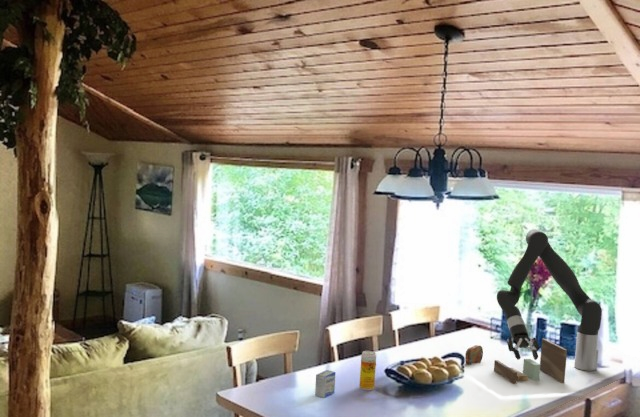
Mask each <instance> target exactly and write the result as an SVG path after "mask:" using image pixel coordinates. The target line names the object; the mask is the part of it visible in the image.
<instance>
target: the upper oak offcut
mask: <svg viewBox="0 0 640 417" xmlns="http://www.w3.org/2000/svg"><path fill="white" fill-rule="evenodd" d="M510 368H511V369H512V370H514V371H515V372H517V382H526V381H528V380H529V377H528V376H527V375H525V374H523V372H521V371H520V370H517V369H515V368H514V367H510Z"/></svg>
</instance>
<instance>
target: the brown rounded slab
mask: <svg viewBox="0 0 640 417" xmlns="http://www.w3.org/2000/svg"><path fill="white" fill-rule="evenodd" d="M483 350H484V348H483V347H482V346H481V345H478V344H477V345H473V346H471V347H468V348H467V350H466V351H465V357H464V358H465V364H466V365H470V366H471V365H472V364H480V363H481V362H482V360H483V357H484V351H483Z"/></svg>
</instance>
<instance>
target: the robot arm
mask: <svg viewBox="0 0 640 417" xmlns="http://www.w3.org/2000/svg"><path fill="white" fill-rule="evenodd" d="M525 242H526V244H527V246H526V249H525V251H524V253H523V256H521V259H520V260H519V262H518V263H517V264H516V266H514V269H513V270H512V272H511V273H510V276H509V278H508V279H507V285H508V286H509V287H510V290H508V289H500V290H498V292H497V293H496V301H497V304H498V305H499V307H500V309H501V310H502V311H503V314H504V315H505V319H506V322H507V327H508V330H509V333H510V336H511V337H510V336H509V337H508V338H507V339H506V343H507V347H508V351H509V352H513V353H514V357H515V358H516V359H517V361H519V360H520V359H521V354H520V352H519V349H527V350H529V351H531V353H532V357H533V361H536V360H537V359H538V358H539V354H538V351H539V350H541V349H540V346H539V343H538V339H537V338H536V336H535V337H533V338H531V337H530V336H529V333H528V330H527V327H526V324H525V321H524V318H523V317H522V313H521V311H520V308H518V306H516V305H517V304H518V302H519V301H520V296H521V292H522V288H523V285H524V284H525V282H526V279H527V277H528V275H529V274H530V272H531V270H532V268H533V266H534V265H535V263H536V262H537V259H538V258H540V260H541V261H542V263H543V265H544V266H545V267H546V270H547V272H548V273H549V274H550V276H551V277H552V278H553V280H554V281H555V283H556V284H557V285H558V286H559V288H561V290H562V291H563V292H564V294H566V296H567V297H568V298H569V299H570V301H571V302H572V304H573V306H574V307H575V309H576V311H577V312H578V314H579V316H581V318H580V319H581V320H580V324H579V325H578V326H577V330H576V331H577V333H576V341H575V342H576V343H575V344H576V345H575V354H574V356H575V357H574V365H573V366H574V368H575V369H577V370H581V371H588V372H590V371H596V370H598V369H597V368H598V360H599V359H598V358H599V350H598V348H597V347H598V338H599V336H598V335H599V331H600V328H601V324H602V323H601V322H602V314H603V311H602V310H603V309H602V306H601V304H600V303H599V302H597V301H595V300H593V299H592V298H591V297H589V296H588V295H587V293H586V292H585V291H584V290H583V288H582V287H581V284H580V282H579V280H578V278H577V276H576V275H575V272H574V270H572V268H571V267H570V266H569V265H568V263H567V262H566V261H565V260H564V259H563V258H562V257H561V256H560V255H559V254H558V253H557V252H556V251H555V249H553V248H552V246H551V244H550V243H549V238H548V235H547V234H546V233H545V232H543V231H542V230H540V229H537V228H535V229H533V228H532V229H531V230H529V231H527V233H526V235H525ZM514 344H515V345H514Z"/></svg>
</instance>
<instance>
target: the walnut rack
mask: <svg viewBox="0 0 640 417" xmlns="http://www.w3.org/2000/svg"><path fill="white" fill-rule="evenodd" d="M541 339H542V340H541V349H540V360H539V364H540V372H542V373H544V374H546V376H548V377H551V379H552V378H553V379H554V380H556V381H557V382H559V383H561V384H565V378H566V367H567V356H568V354H567V353H568V349H566V348H565V347H562V346H561V345H558V344H556V343H555V342H552V341H550V340H548V339H547V338H541ZM493 364H494V365H493V371H494V372H495V373H497V374H498V375H500V376H501V377H503V378H504V379H506V380H507V381H508V382H510V383H512V384H517V382H518V381H517V372H515V371H514V370H512V369H511V368H512V367H509V366H507V365H506V364H504V363H503V362H501V361H500V360H498V359H494V363H493Z"/></svg>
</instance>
